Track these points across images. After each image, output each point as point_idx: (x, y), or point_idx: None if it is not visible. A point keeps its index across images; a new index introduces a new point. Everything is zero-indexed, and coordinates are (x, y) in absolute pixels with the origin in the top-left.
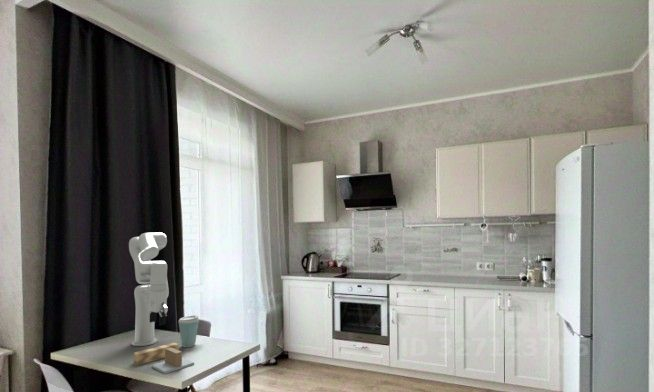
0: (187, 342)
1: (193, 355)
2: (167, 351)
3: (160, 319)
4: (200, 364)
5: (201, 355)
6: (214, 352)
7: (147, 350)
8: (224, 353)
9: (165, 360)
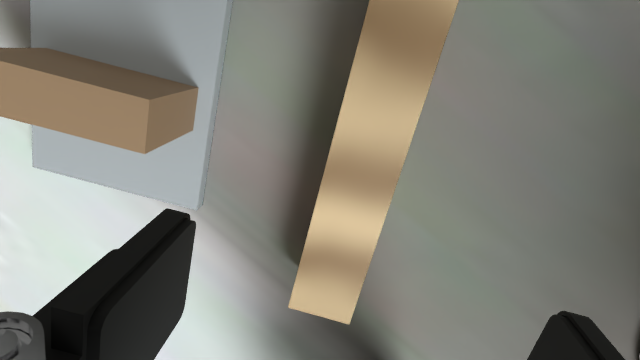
0: None
1: None
2: (117, 87)
3: (101, 281)
4: (18, 180)
5: None
6: None
7: (393, 91)
8: None
9: (187, 87)
